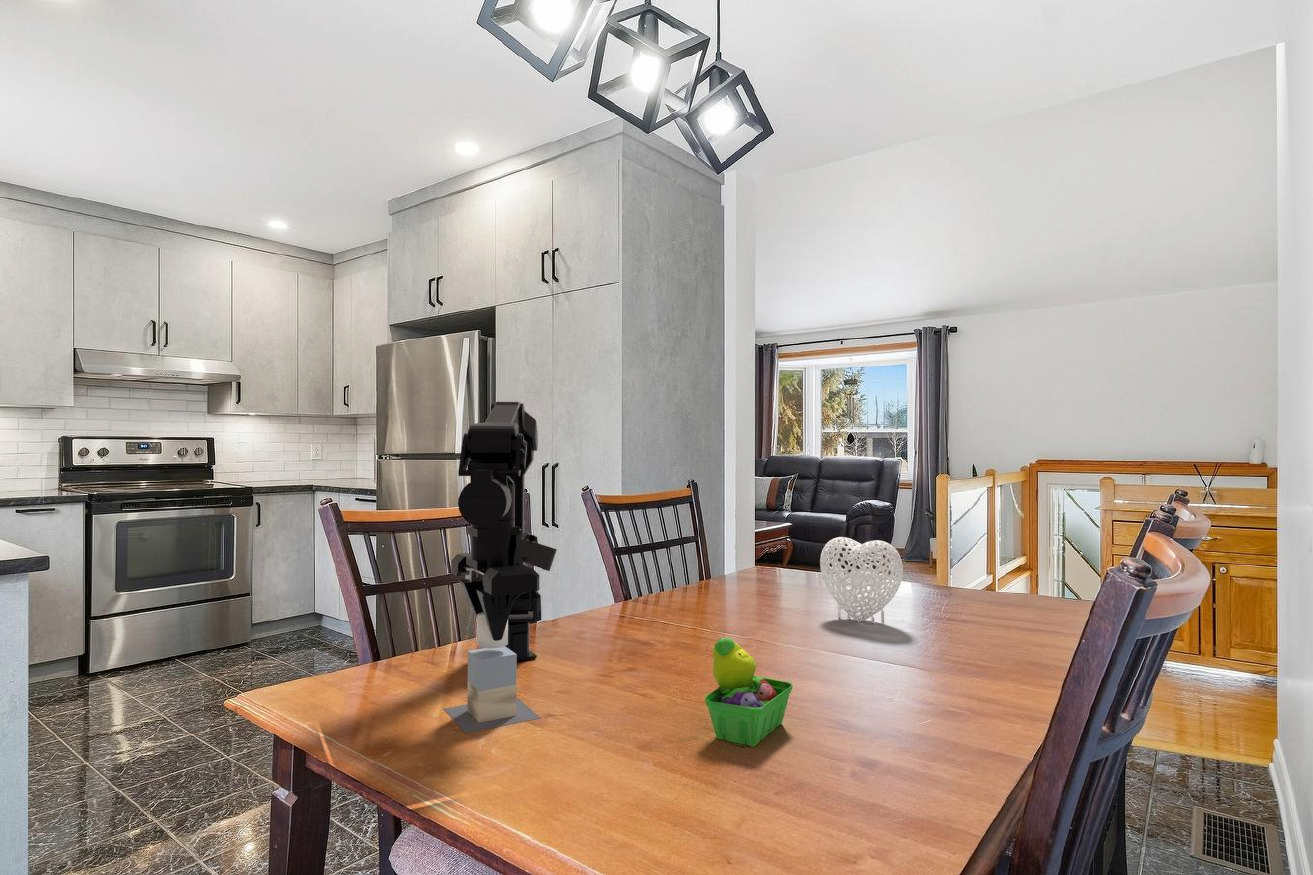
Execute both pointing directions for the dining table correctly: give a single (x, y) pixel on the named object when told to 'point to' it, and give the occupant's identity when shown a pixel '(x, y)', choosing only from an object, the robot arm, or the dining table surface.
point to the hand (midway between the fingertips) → (492, 636)
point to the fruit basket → (744, 697)
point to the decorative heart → (861, 576)
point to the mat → (473, 725)
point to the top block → (492, 668)
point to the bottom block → (491, 703)
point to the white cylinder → (488, 634)
